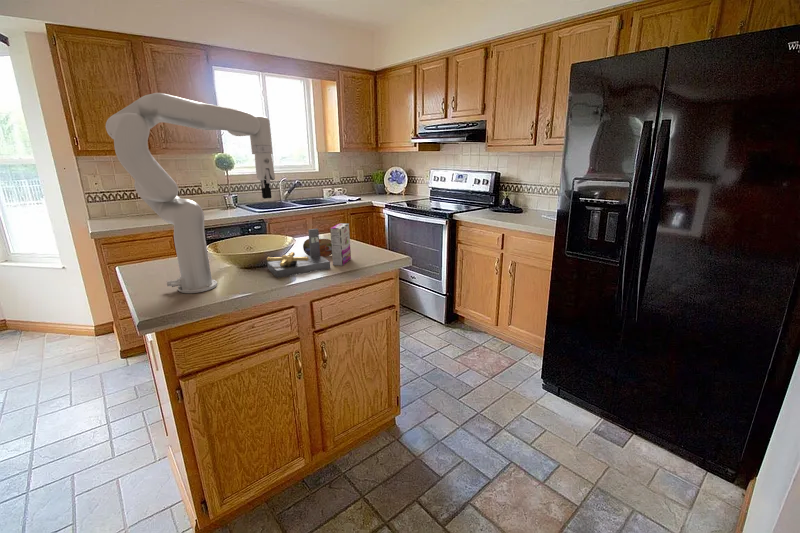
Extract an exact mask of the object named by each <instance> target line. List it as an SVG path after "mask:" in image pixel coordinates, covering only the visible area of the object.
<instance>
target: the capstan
mask: <svg viewBox="0 0 800 533" xmlns="http://www.w3.org/2000/svg"><path fill="white" fill-rule="evenodd" d="M295 255H296V254H295V252H293V251H291V252H288V253H287V254H282V255H281V256H277V257H276V256H275V257H272V256H267V258H266V261H267V262H272V261H281V263H280V266H282V267H283V266H290V265H295V264H297V261H308V259H309V258H308V257H304V256H295Z"/></svg>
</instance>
